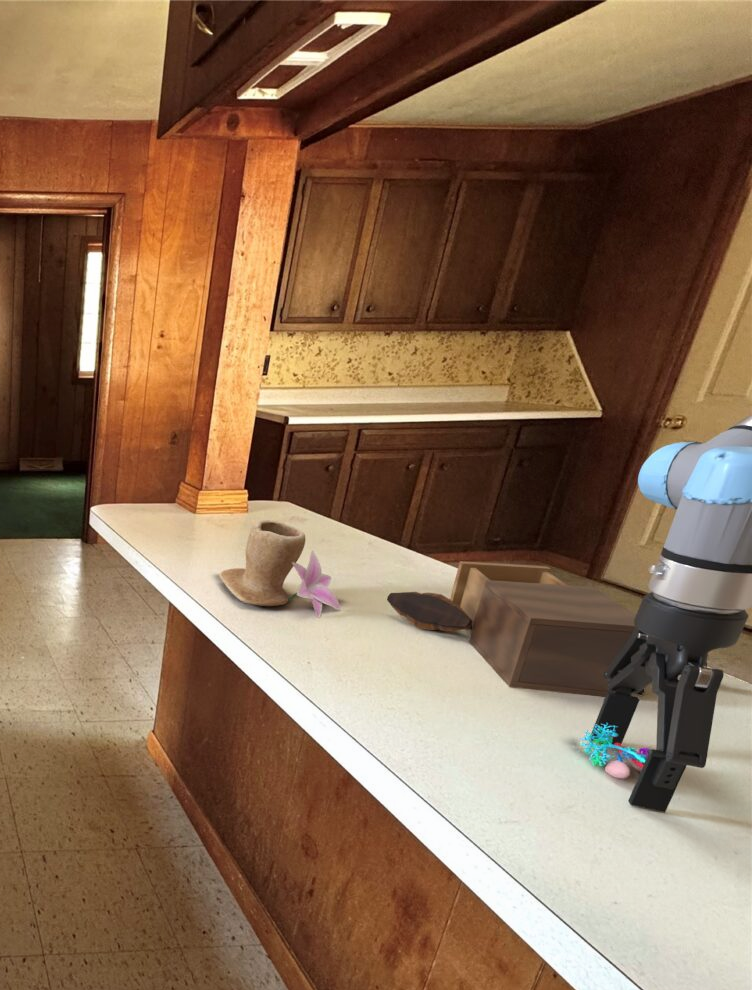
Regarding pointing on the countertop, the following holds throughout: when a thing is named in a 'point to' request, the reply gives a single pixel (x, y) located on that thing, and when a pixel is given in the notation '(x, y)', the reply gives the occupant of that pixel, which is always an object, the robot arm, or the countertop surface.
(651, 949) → the countertop surface
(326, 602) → the lily
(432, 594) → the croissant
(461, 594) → the drawer
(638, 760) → the anatomy model
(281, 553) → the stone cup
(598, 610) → the cabinet
